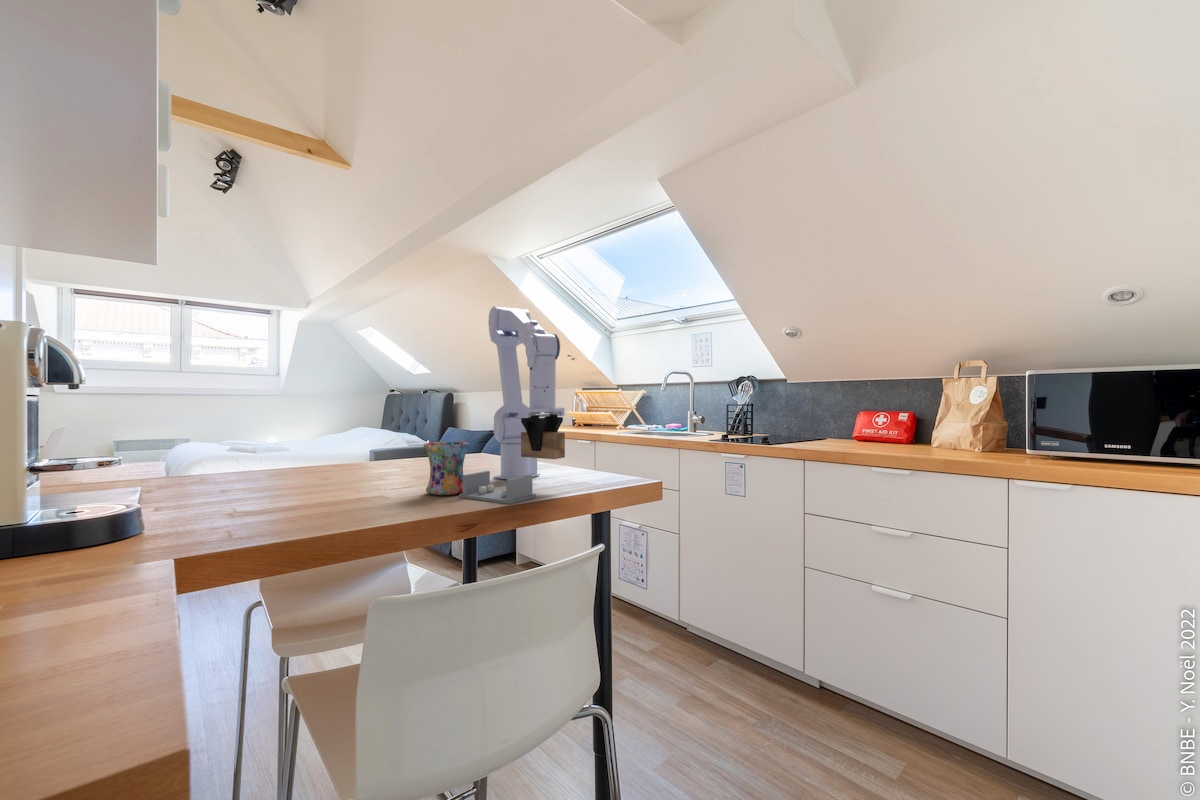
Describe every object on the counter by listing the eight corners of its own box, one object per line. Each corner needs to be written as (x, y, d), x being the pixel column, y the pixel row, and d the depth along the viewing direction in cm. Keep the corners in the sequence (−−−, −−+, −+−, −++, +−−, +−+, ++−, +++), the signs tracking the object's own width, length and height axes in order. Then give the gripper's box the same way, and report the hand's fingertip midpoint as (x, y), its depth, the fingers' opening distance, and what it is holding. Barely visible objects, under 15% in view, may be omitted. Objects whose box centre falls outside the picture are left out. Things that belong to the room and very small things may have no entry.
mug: (463, 497, 106) (463, 445, 105) (417, 497, 105) (417, 445, 105) (475, 487, 118) (475, 440, 117) (434, 487, 117) (434, 440, 117)
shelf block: (532, 454, 118) (532, 430, 118) (564, 457, 114) (564, 432, 113) (521, 456, 115) (521, 432, 114) (554, 459, 110) (554, 433, 110)
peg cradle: (486, 490, 113) (486, 470, 113) (535, 497, 106) (535, 475, 106) (459, 497, 106) (459, 475, 106) (510, 504, 99) (510, 480, 99)
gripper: (537, 387, 106) (537, 453, 106) (575, 388, 118) (575, 447, 118) (510, 387, 109) (510, 451, 109) (550, 388, 122) (550, 446, 122)
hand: (542, 449), depth 114 cm, fingers closed on shelf block, 4 cm apart
